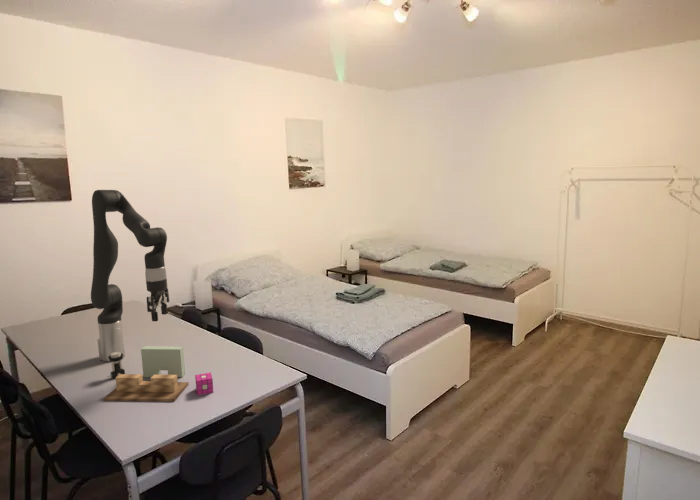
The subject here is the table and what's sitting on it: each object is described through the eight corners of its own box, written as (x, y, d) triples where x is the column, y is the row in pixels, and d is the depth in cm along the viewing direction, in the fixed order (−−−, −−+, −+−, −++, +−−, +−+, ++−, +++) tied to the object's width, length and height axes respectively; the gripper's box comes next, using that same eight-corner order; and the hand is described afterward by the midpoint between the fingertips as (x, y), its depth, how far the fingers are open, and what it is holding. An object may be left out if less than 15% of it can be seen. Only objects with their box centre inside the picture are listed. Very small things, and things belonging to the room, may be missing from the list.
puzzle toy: (197, 395, 163) (196, 381, 162) (196, 388, 168) (195, 374, 167) (213, 392, 165) (212, 378, 164) (211, 385, 171) (210, 372, 170)
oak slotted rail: (104, 400, 159) (102, 383, 158) (123, 383, 172) (121, 368, 171) (174, 401, 159) (173, 384, 158) (188, 384, 171) (187, 369, 170)
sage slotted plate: (143, 376, 178) (140, 349, 176) (147, 373, 181) (144, 346, 179) (182, 377, 178) (180, 349, 176) (185, 374, 180) (183, 346, 178)
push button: (110, 382, 174) (108, 358, 172) (104, 378, 177) (102, 355, 175) (127, 376, 179) (125, 352, 177) (121, 372, 182) (118, 349, 180)
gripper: (155, 274, 180) (158, 312, 183) (137, 282, 166) (142, 323, 169) (173, 274, 180) (176, 312, 183) (157, 282, 166) (161, 323, 169)
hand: (160, 317), depth 176 cm, fingers open, 8 cm apart
